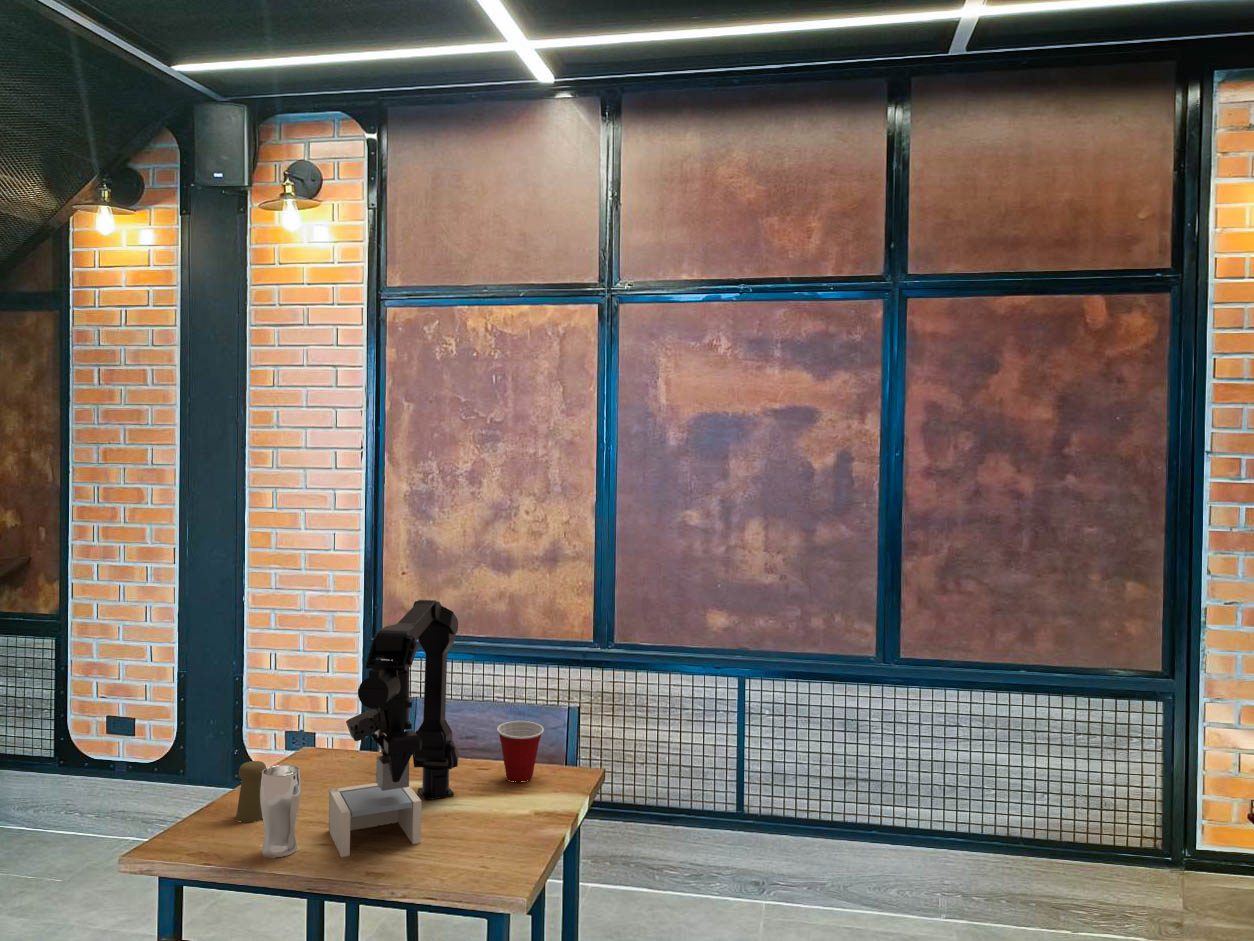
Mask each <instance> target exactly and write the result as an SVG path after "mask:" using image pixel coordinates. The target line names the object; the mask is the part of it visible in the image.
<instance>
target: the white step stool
mask: <svg viewBox="0 0 1254 941" xmlns="http://www.w3.org/2000/svg"><path fill="white" fill-rule="evenodd" d="M374 787H379V786H378V784H377V783H376V782H374V783H373V782H372V783H366V784H361V785H360V784H359V785H351V786H345V787H339V788H333V789H332V788H331V789H329V791H328V793H329V794H328V832H329V834H330V837H331V839H332V840H333V843H334V845H335V847H336V850H337V851H339V852H338V854H339V853H340V854H339V856H340V857H341V858H343V857H344V858H345V857H349V856H350V854H351V850H350V848H351V831H357V830H360V829H361V830H362V829H367V828H368V829H369V828H373V827H379V826H378V825H380V826H385V824H386V825H391V824H390V823H392V824H397V822H398V825H399V826H400V828H401V829H402V831H403V833H405V835H406V836H407V838H408V839H409V841H410V842H411V844H412V845H417V844H421V842H422V841H421V839H422V831H421V830H422V800H421V798H420V797H419V796H418V795H417V793H416V792H415V791H414V790H413V788H412V787H411V786H410V785H409V787H405V788H401V789H402V790H403V791H404V793H405V794H406V795H407V796H408V798H409V799H410V800H411V802H412V808H405V809H399V810H393V811H387V812H380V813H374V814H368V815H362V816H356V817H352V816H351V814H350V810H349V809H348V807H347V805H346V803H345V801H344V800H343V798H342V796H341V792H346V791H353V790H360V789H367V788H374Z"/></svg>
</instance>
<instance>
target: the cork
mask: <svg viewBox="0 0 1254 941" xmlns="http://www.w3.org/2000/svg"><path fill="white" fill-rule="evenodd" d="M266 768H267V765H266V763H265V762H263V761H259V760H252V761H251V760H250V761H247V762H244V763H242V764H241V765H240V767H239V769H238V777H239V779H240V780H241V782H240V789H239V796H238V803H237V809H236V816H235V820H236V821H237V820H238V821H241V822H240V823H243V822H249V823H255V822H254V821H256V822H259V820H260V821H263V820H262V819H263V818H262V812H261V804H260V788H261V778H262V771H263V770H264V769H266ZM238 821H237V822H238Z"/></svg>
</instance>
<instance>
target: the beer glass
mask: <svg viewBox="0 0 1254 941" xmlns="http://www.w3.org/2000/svg"><path fill="white" fill-rule="evenodd" d="M300 768H301V767H299V766H297V765H296V764H276V765H272V766H268V767H266V769H264V770H263V771H262V778H261V788H260V804H261V812H262V818H263V820H262V821H263V828H264V831H263V832H264V833H263V834H264V837H263V844H262V849H261V855H262V856H263V855H264V856H263V857H265V856H266V857H265V858H267V857H281V858H284V857H283V856H286V857H288V855H289V856H291V855H293V854H294V853H295V851H296V852H297V850H298V844H297V840H296V823H297V818H298V813H299V808H300V802H301V775H300V772H301V771H300ZM292 853H293V854H292ZM290 854H291V855H290Z"/></svg>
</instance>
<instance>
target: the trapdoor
mask: <svg viewBox="0 0 1254 941" xmlns="http://www.w3.org/2000/svg"><path fill="white" fill-rule="evenodd" d="M341 796H342V798H343V800H344V801H345V803H346V805H347V807H348V809H349V810H350V814H351V816H352V817H356V816H362V815H368V814H374V813H380V812H387V811H393V810H399V809H405V808H412V802H411V800H410V799H409V798H408V796H407V795H406V794H405V793H404V791H403V790H402V789H401V788H398V789H391V790H385V791H382V790H381V788H380V787H374V788H367V789H360V790H353V791H346V792H341Z"/></svg>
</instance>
